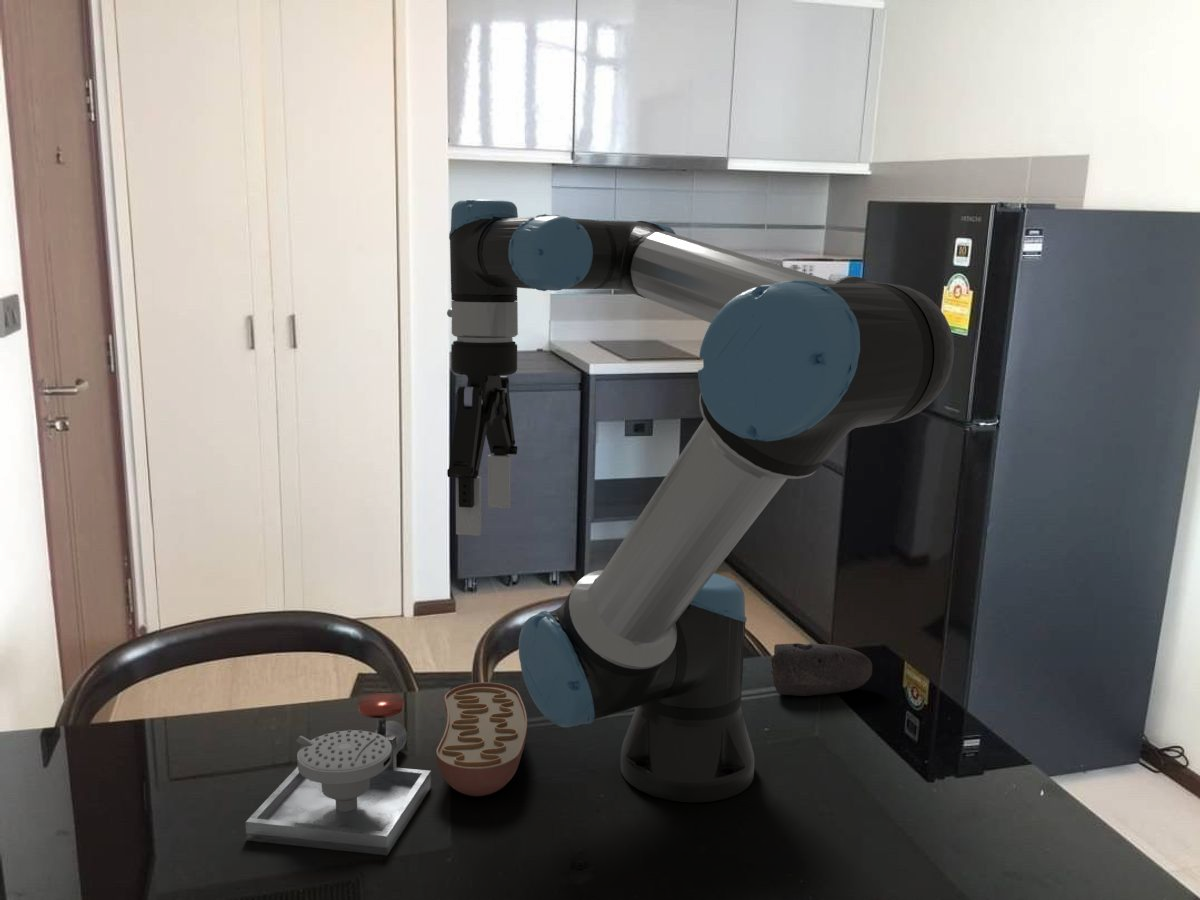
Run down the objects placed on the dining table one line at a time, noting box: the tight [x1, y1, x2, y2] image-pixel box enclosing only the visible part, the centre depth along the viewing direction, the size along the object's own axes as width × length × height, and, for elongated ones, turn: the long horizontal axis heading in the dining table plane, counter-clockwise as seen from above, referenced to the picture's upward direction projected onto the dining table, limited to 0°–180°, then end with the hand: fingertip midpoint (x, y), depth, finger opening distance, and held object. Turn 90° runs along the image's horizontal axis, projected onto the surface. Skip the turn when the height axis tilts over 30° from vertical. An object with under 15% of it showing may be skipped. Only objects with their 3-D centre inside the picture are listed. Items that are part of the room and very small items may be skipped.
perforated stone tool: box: [770, 642, 873, 697], centre depth 141 cm, size 15×5×7 cm, turn 99°
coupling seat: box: [245, 692, 432, 856], centre depth 111 cm, size 22×14×7 cm
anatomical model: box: [435, 681, 528, 797], centre depth 120 cm, size 23×10×5 cm, turn 5°
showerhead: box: [295, 729, 392, 812], centre depth 107 cm, size 9×7×10 cm
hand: (484, 520), depth 123 cm, fingers open, 13 cm apart
